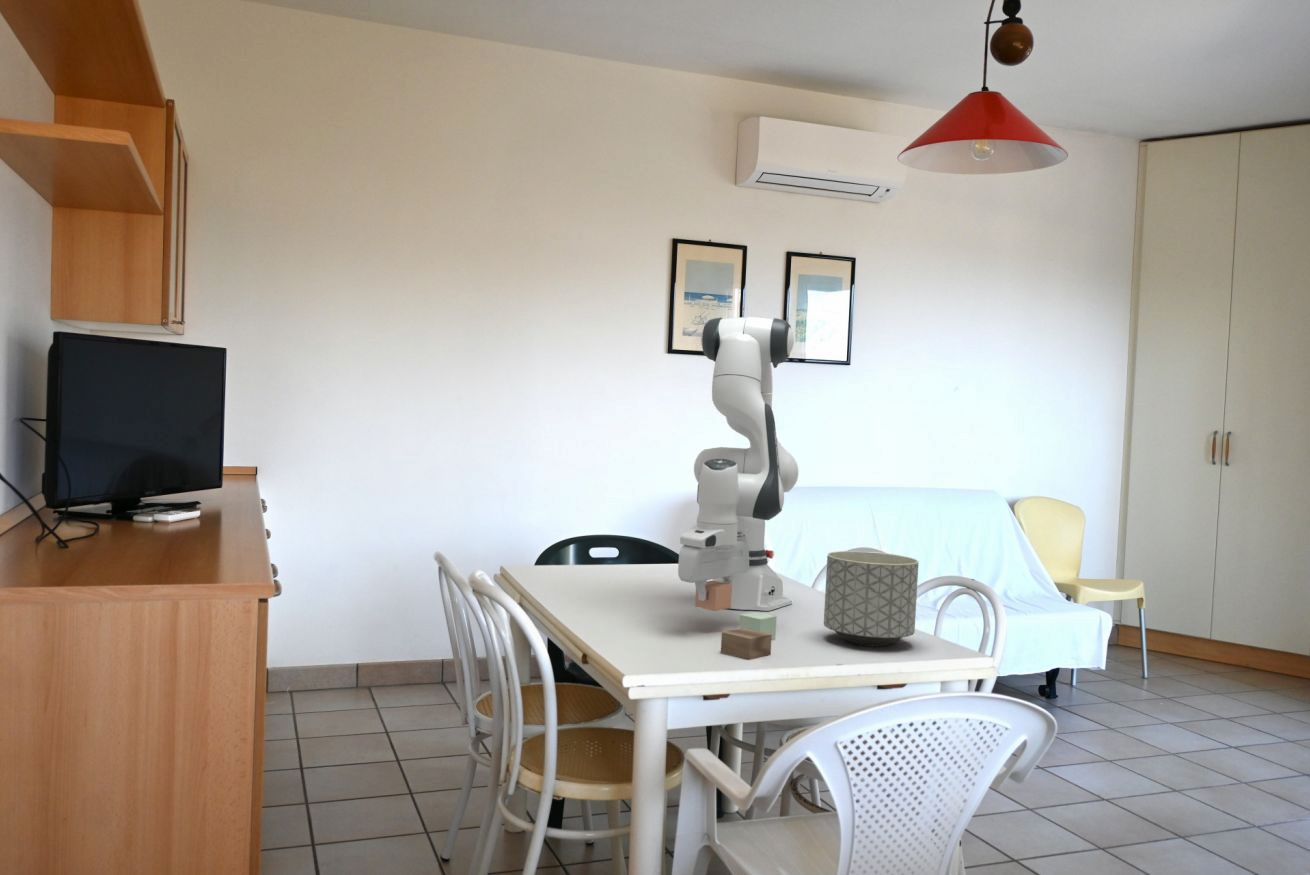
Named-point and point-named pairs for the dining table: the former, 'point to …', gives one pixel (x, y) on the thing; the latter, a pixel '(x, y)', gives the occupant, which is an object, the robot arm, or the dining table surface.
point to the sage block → (759, 623)
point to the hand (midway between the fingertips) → (713, 597)
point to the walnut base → (746, 643)
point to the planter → (870, 596)
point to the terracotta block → (716, 596)
